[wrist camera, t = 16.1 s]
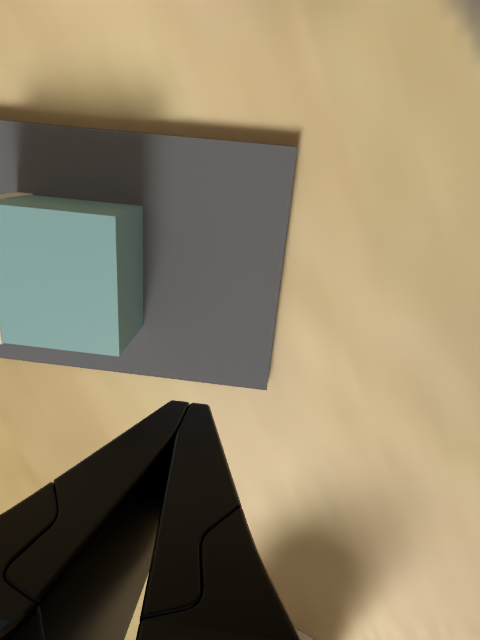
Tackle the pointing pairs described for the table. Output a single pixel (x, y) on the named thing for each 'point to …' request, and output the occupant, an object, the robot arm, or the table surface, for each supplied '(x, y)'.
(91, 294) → the pale teal block
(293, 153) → the mat
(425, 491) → the table surface
